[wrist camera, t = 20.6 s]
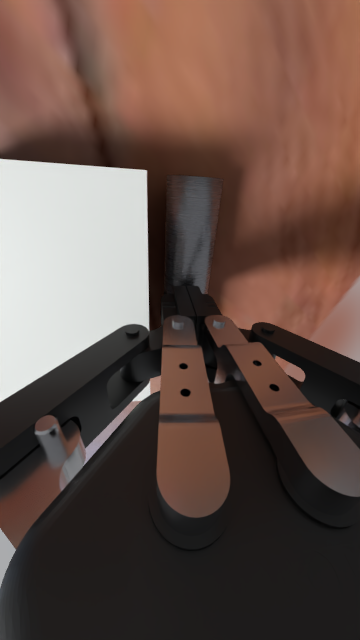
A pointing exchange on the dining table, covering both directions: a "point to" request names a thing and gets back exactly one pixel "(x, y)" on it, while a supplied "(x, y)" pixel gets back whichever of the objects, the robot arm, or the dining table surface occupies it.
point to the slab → (68, 263)
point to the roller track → (190, 230)
